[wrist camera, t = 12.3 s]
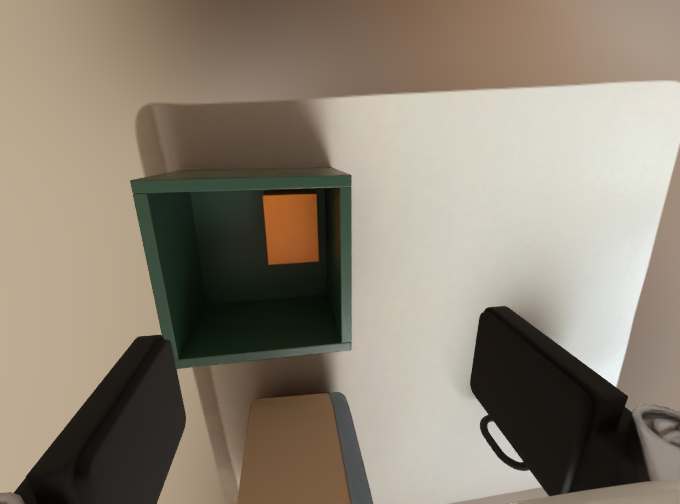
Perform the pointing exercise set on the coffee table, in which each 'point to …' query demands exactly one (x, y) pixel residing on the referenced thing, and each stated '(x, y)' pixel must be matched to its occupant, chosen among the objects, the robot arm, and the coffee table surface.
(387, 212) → the coffee table surface
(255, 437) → the alarm clock
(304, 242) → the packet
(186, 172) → the bin
